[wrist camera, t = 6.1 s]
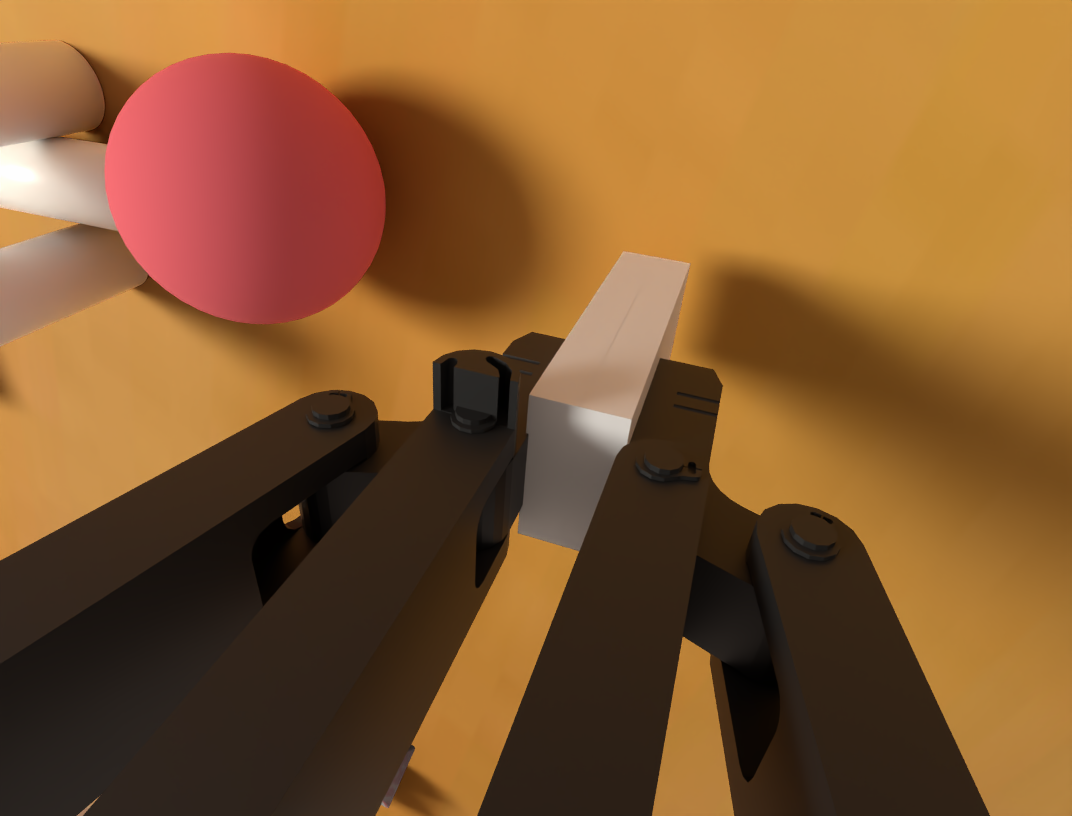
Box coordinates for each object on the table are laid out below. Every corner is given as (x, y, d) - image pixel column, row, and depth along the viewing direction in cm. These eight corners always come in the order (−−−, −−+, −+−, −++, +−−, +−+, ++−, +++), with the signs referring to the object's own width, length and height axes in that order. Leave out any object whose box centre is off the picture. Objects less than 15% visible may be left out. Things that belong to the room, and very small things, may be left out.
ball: (110, 30, 15) (362, 97, 18) (109, 282, 17) (339, 304, 20) (95, -11, 11) (439, 89, 14) (95, 345, 12) (400, 361, 15)
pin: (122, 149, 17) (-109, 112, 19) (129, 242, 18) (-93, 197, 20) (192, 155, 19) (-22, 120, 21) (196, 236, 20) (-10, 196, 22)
